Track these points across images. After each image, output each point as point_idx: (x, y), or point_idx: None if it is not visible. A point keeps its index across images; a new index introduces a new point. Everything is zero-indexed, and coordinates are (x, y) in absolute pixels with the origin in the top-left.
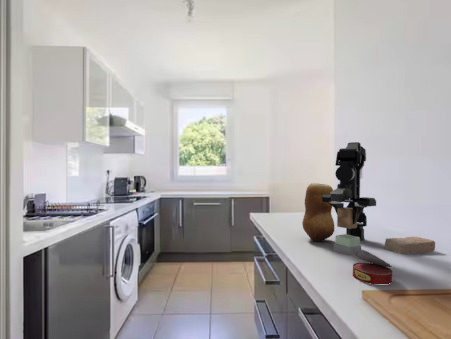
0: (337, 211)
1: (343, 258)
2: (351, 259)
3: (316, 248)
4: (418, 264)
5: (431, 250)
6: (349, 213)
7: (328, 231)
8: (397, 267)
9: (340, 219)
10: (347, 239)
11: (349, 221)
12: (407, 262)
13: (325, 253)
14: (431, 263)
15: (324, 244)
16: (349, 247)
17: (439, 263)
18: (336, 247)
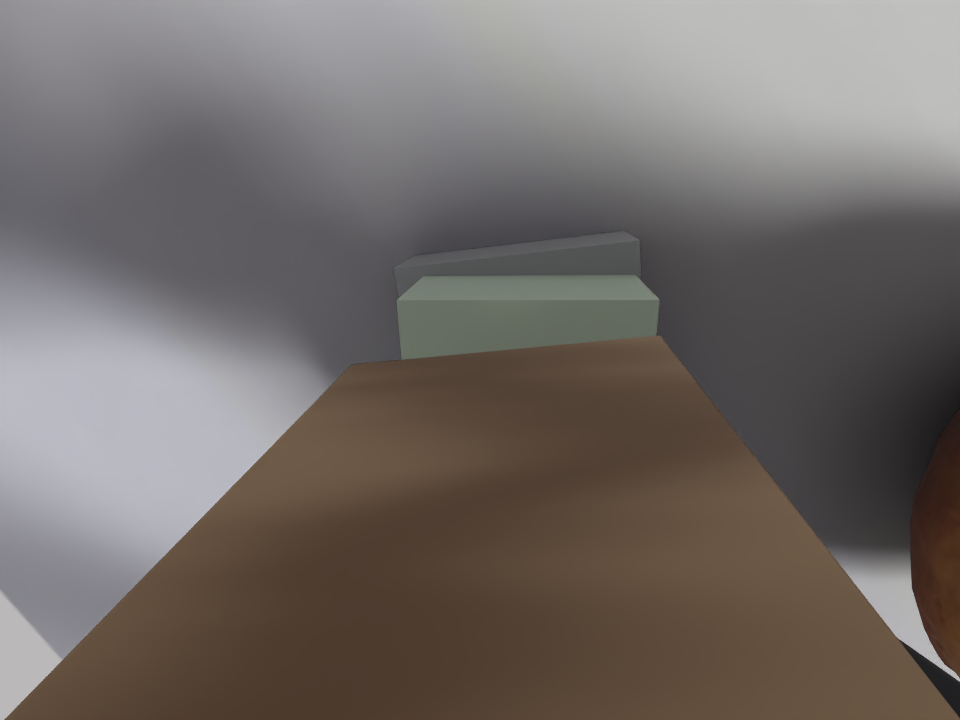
0: (952, 713)
1: (350, 47)
2: (295, 107)
3: (814, 94)
4: (64, 502)
5: None
6: (71, 675)
7: (957, 511)
8: (19, 292)
9: (596, 431)
10: (435, 296)
11: (282, 440)
12: (115, 484)
13: (590, 5)
14: (72, 591)
15: (859, 363)
16: (418, 269)
17: (65, 628)
18: (591, 239)
